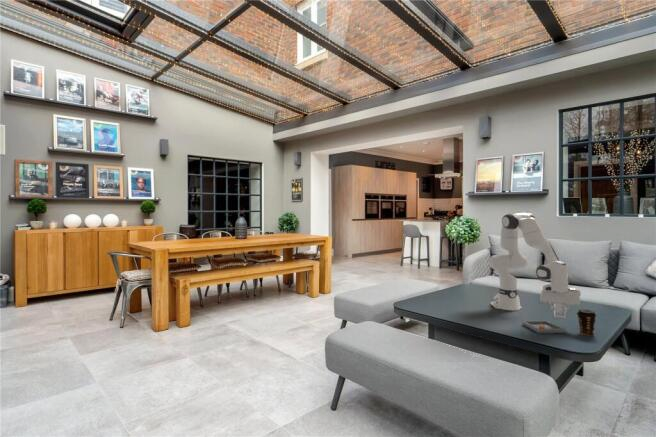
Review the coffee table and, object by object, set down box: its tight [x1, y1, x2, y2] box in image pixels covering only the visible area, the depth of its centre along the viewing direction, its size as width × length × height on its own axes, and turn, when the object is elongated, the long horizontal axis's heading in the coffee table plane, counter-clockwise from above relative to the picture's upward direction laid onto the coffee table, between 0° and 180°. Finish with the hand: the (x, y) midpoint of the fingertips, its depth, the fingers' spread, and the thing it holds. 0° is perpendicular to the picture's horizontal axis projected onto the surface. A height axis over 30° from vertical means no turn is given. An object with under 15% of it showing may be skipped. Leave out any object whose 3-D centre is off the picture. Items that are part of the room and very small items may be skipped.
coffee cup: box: [576, 309, 597, 336], centre depth 197 cm, size 9×8×13 cm
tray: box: [522, 320, 566, 335], centre depth 205 cm, size 16×15×2 cm
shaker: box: [553, 303, 567, 319], centre depth 210 cm, size 6×5×8 cm
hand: (559, 310), depth 210 cm, fingers closed on shaker, 5 cm apart
